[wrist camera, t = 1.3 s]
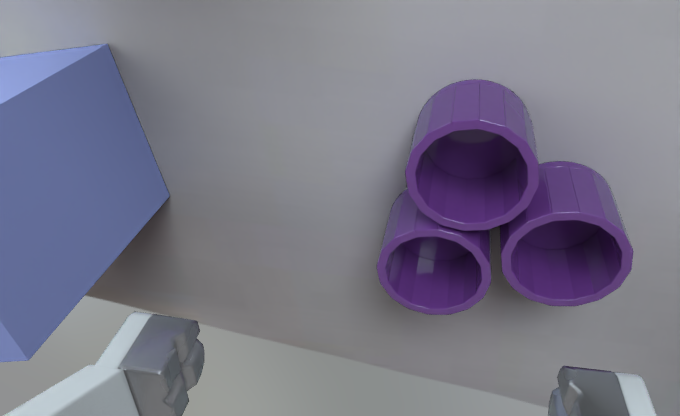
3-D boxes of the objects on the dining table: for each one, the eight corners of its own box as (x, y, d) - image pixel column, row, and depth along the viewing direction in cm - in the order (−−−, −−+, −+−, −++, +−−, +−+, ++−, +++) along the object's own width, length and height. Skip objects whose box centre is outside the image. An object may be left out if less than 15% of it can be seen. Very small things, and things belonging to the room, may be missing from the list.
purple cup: (504, 195, 32) (508, 248, 28) (471, 270, 35) (469, 326, 31) (403, 168, 32) (391, 216, 28) (380, 245, 36) (367, 297, 32)
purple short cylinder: (550, 96, 28) (561, 140, 24) (506, 191, 31) (510, 244, 27) (433, 65, 28) (425, 105, 24) (404, 164, 32) (392, 211, 28)
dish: (634, 178, 29) (657, 233, 25) (583, 260, 33) (597, 319, 29) (522, 148, 30) (528, 197, 26) (484, 232, 33) (484, 287, 29)
